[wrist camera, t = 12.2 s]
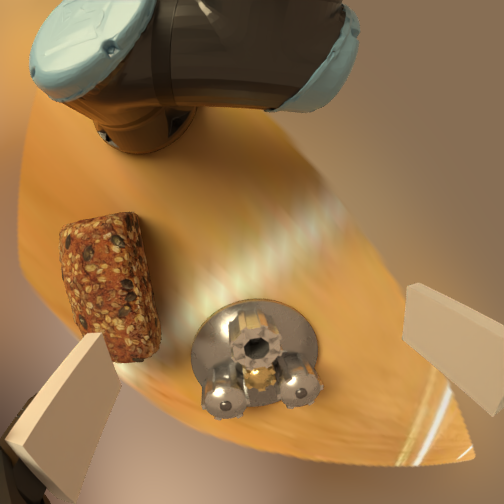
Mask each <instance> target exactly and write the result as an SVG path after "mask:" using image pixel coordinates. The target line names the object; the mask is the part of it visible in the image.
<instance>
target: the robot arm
mask: <svg viewBox="0 0 504 504" xmlns="http://www.w3.org/2000/svg"><path fill="white" fill-rule="evenodd" d="M359 33H360V25H359V21H358V17H357V16H356V14H355V12H354V11H353V10H351V9H350V8H349V7H348V6H347V5H345V4H343V3H342V0H63V1H62V2H61V3H60V4H59V5H58V6H57V7H56V8H55V9H54V10H53V11H52V12H51V14H50V15H49V16H48V17H47V19H46V20H45V22H44V23H43V25H42V26H41V28H40V30H39V31H38V33H37V35H36V37H35V40H34V42H33V45H32V48H31V52H30V58H29V70H30V75H31V77H32V79H33V81H34V82H35V84H36V85H37V87H39V88H40V89H41V90H42V91H43V92H45V93H46V94H47V95H48V96H49V98H51V99H52V100H54V101H56V102H59V103H63V104H65V105H67V106H68V107H70V108H72V109H74V110H76V111H77V112H79V113H81V114H83V115H85V116H86V117H88V118H90V119H92V120H93V122H94V125H95V128H96V130H97V132H98V133H99V135H100V136H101V138H102V139H103V140H104V141H105V142H106V143H108V144H109V145H110V146H112V147H114V148H116V149H118V150H120V151H123V152H126V153H131V154H145V153H151V152H154V151H157V150H160V149H162V148H164V147H166V146H168V145H169V144H171V143H172V142H174V141H175V140H176V139H178V138H179V137H180V136H181V135H182V134H183V133H184V132H185V130H186V129H187V128H188V126H189V125H190V123H191V121H192V120H193V117H194V115H195V112H196V109H197V106H209V107H234V108H249V109H261V110H264V111H265V112H277V111H288V112H300V113H307V112H312V111H315V110H316V109H319V108H322V107H324V106H325V105H326V104H328V103H329V102H330V101H331V100H332V99H333V98H334V97H335V96H336V95H337V93H338V92H339V91H340V89H341V88H342V86H343V85H344V83H345V81H346V80H347V78H348V76H349V74H350V72H351V70H352V67H353V65H354V62H355V59H356V56H357V52H358V47H359V41H358V40H357V39H356V38H357V36H358V35H359ZM402 340H403V341H405V342H406V343H407V344H408V345H409V346H411V347H412V348H413V349H414V350H415V351H417V352H418V353H419V354H420V355H421V356H423V357H424V358H425V359H426V360H427V361H429V362H430V363H431V364H432V365H433V366H434V367H436V368H437V369H438V370H439V371H440V372H442V373H443V374H444V375H445V376H446V377H447V378H449V379H450V380H451V381H452V382H453V383H454V384H456V385H457V386H458V387H459V388H460V389H461V390H463V391H464V392H465V393H466V394H467V395H468V396H470V397H471V398H472V399H473V400H474V401H475V402H476V403H478V404H479V405H480V406H481V407H482V408H483V409H484V410H485V411H486V412H488V413H489V414H490V415H491V416H492V417H493V416H495V415H496V414H497V413H498V412H499V411H501V410H502V409H503V408H504V325H502V324H500V323H498V322H497V321H495V320H493V319H491V318H489V317H487V316H485V315H483V314H481V313H479V312H477V311H476V310H473V309H472V308H470V307H468V306H466V305H464V304H462V303H460V302H458V301H456V300H454V299H452V298H450V297H448V296H446V295H443V294H442V293H440V292H437V291H435V290H433V289H431V288H429V287H427V286H425V285H423V284H421V283H416V284H412V285H409V286H407V292H406V306H405V317H404V326H403V335H402ZM121 387H122V385H121V382H120V380H119V378H118V375H117V373H116V370H115V368H114V365H113V362H112V360H111V357H110V354H109V352H108V349H107V346H106V343H105V340H104V337H103V334H102V333H87V334H86V335H85V336H84V337H83V339H82V340H81V341H80V342H79V343H78V344H77V346H76V347H75V348H74V349H73V350H72V351H71V353H70V354H69V355H68V356H67V357H66V359H65V360H64V361H63V362H62V363H61V365H60V366H59V367H58V369H57V370H56V371H55V372H54V373H53V375H52V376H51V377H50V378H49V380H48V381H47V382H46V384H45V385H44V386H43V387H42V389H41V390H40V391H39V392H38V393H37V394H35V395H34V396H33V397H31V398H30V399H29V400H28V401H27V403H26V404H25V405H24V406H23V408H22V409H23V410H20V412H19V413H18V414H17V417H15V419H14V420H13V421H12V423H11V424H10V426H9V427H8V428H7V430H6V431H5V433H4V434H3V435H2V437H1V438H0V504H51V503H50V501H49V499H48V498H47V497H46V495H45V494H44V492H45V490H46V488H47V489H48V490H49V491H50V492H51V493H52V494H53V495H54V496H55V497H56V498H58V499H61V500H64V501H67V502H71V503H74V504H76V502H77V499H78V496H79V493H80V490H81V487H82V485H83V482H84V479H85V476H86V473H87V470H88V468H89V465H90V462H91V459H92V457H93V455H94V452H95V449H96V447H97V444H98V442H99V439H100V437H101V434H102V431H103V429H104V427H105V424H106V422H107V419H108V417H109V415H110V412H111V410H112V408H113V405H114V403H115V401H116V398H117V396H118V394H119V392H120V389H121Z"/></svg>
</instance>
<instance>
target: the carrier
mask: <svg viewBox="0 0 504 504" xmlns="http://www.w3.org/2000/svg"><path fill="white" fill-rule="evenodd" d="M255 307H259V308H261V309H262V311H263V313H265V314H266V315H268V316H269V315H271V316H272V317H273V319H274V321H275V323H276V326H277V328H278V330H279V332H280V334H281V337H282V339H281V340H280V344H281V346H282V348H283V352H282V355H281V356H277V358H276V359H275V360H274V361H273V362H272V366H270V367H268V368H266V367H259V368H254V369H253V371H252V370H246V366H244V365H242V364H240V363H239V362H237V363H235V362H234V361H233V360H232V356H231V347H230V346H229V334H228V324H229V321H233V320H234V319H235V317H236V316H237V315H238V314H237V311H239V310H241V309H243V310H244V311H246V310H252V309H255ZM259 339H260V338H254V339H250V340H249V341H251V342H257V341H258V340H259ZM317 355H318V345H317V339H316V335H315V333H314V331H313V329H312V327H311V326H310V324H309V323H308V321H307V320H306V319H305V318H304V317H303V315H302V314H300V313H299V312H298V311H297V310H295V309H294V308H292V307H290V306H289V305H286V304H284V303H282V302H278V301H275V300H269V299H247V300H242V301H238V302H235V303H232V304H229V305H227V306H225V307H223V308H221V309H219V310H218V311H216V312H215V313H213V314H212V315H211V316H210V317H209V318H208V319H207V320H206V321H205V322H204V323H203V324H202V326H201V327H200V328H199V330H198V332H197V334H196V336H195V338H194V342H193V345H192V352H191V363H192V369H193V372H194V374H195V377H196V378H197V380H198V382H199V383H200V385H201V386H202V401H201V405H202V409H203V410H204V409H206V410H207V411H208V412H209V413H210V414H211V415H213V416H214V419H217V420H221V419H222V418H223V419H229V418H234V417H237V418H240V417H242V416H243V412H244V410H245V409H246V407H255V406H263V405H268V404H272V403H275V402H278V401H280V400H282V402H283V403H284V404H286V406H287V408H289V409H293V408H294V407H300V406H304V405H307V404H308V405H311V404H313V403H314V402H315V401H314V399H315V398H316V397H317V396H318V394H319V392H320V390H323V383H322V381H321V379H320V378H319V376H318V374H317V372H316V370H315V369H314V367H315V364H316V360H317Z"/></svg>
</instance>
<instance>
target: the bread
mask: <svg viewBox="0 0 504 504" xmlns="http://www.w3.org/2000/svg"><path fill="white" fill-rule="evenodd" d="M59 251H60V262H61V264H62V278H63V281H64V283H65V288H66V293H67V295H68V298H69V302H70V304H71V307H72V312H73V314H74V315H73V318H74V322H75V323H76V324H77V326H78V327H79V329H80V331H81V333H82V335H83V337H84V336H85V335H86V334H87V333H102V334H103V337H104V340H105V343H106V346H107V349H108V352H109V354H110V357H111V360H112V362H116V363H131V362H143V361H144V360H143V359H146V358H148V357H152V355H153V354H154V353H156V352H157V351H158V350H159V344H160V343H161V342H160V340H162V339H161V326H160V321H159V319H158V314H157V310H156V307H155V300H154V296H153V294H154V293H153V291H152V286H151V280H150V276H149V270H148V265H147V260H146V255H145V253H144V244H143V240H142V236H141V230H140V226H139V220H138V215H137V214H135V213H134V212H122V213H116V214H109V215H106V216H102V217H97V218H92V219H86V220H80V221H77V222H74V223H70V224H67V225H64V226H63V227H62V229H61V232H60V238H59Z"/></svg>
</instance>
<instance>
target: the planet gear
mask: <svg viewBox="0 0 504 504" xmlns="http://www.w3.org/2000/svg"><path fill="white" fill-rule="evenodd" d="M237 314H238V315H237V316H236V317H235V319H234V320H233V321H229V324H228V334H229V346H230V347H231V356H232V360H233V361H234V362H235V363H237V362H239V363H240V364H242V365H244V366H246V370H252V371H253V369H254V368H259V367H266V368H268V367H270V366H272V362H273V361H274V360H275V359H276V358H277V356H281V355H282V352H283V348H282V346H281V344H280V340H281V339H282V337H281V334H280V332H279V330H278V328H277V326H276V323H275V321H274V319H273V317H272V316H271V315H269V316H268V315H266V314H265V313H263V311H262V309H261V308H259V307H255V309H252V310H246V311H244V310H243V309H241V310H239V311H237ZM254 338H260V339H259V340H258V341H257V342H251V341H249V340H250V339H254Z"/></svg>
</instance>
